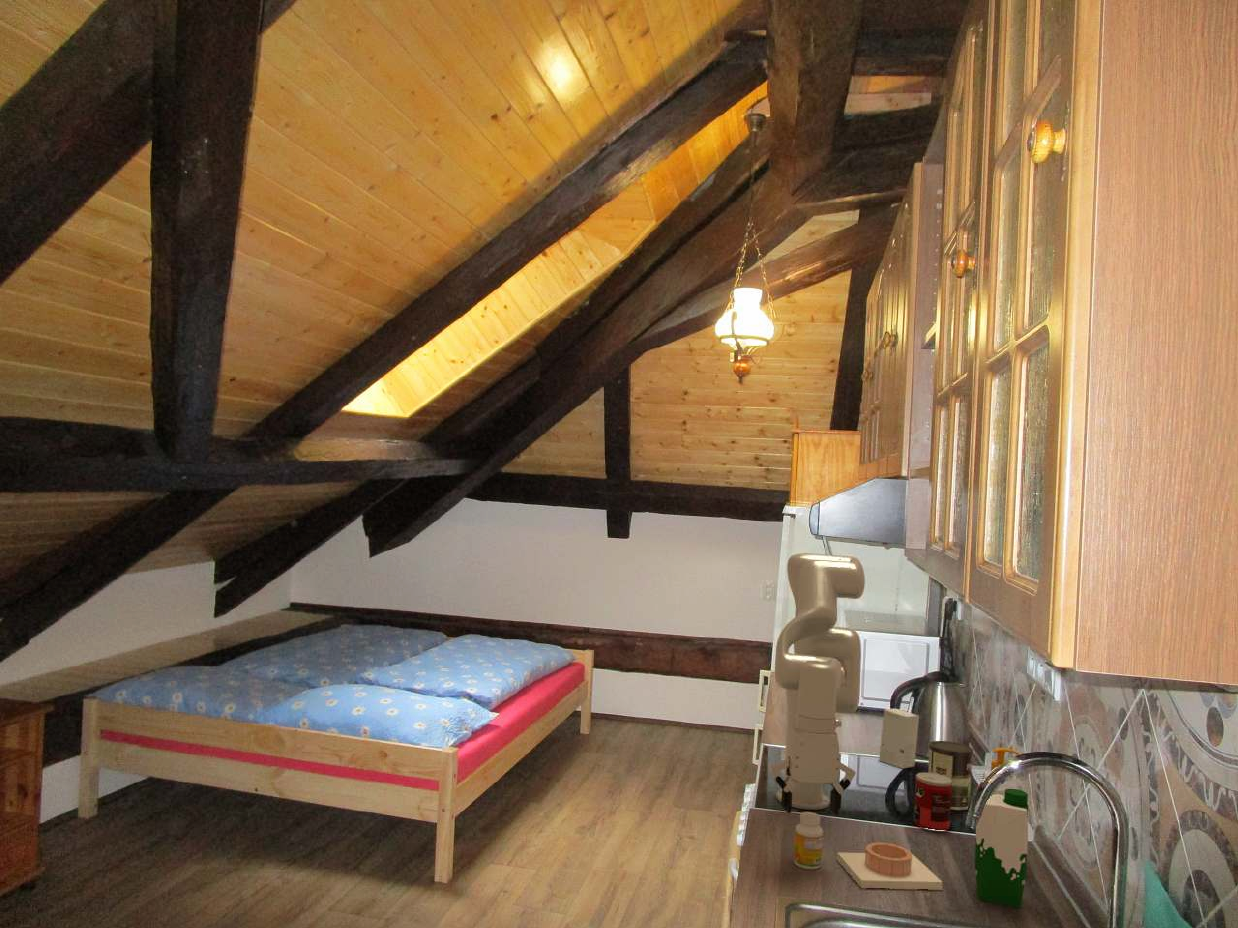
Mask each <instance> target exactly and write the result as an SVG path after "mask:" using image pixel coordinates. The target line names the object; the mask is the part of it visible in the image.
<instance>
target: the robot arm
mask: <svg viewBox="0 0 1238 928" xmlns="http://www.w3.org/2000/svg"><path fill="white" fill-rule="evenodd" d="M786 567H787V569H786V570H787V571H786V572H787V579H788V583H789V587H790V591H791V592H792V595H793V599H794V604H795V617H794V618H792V619H791V620H790V621H789V622H788V623H787V624H786V625H785V626H784V628H783V629H782V630H781V632H780V634H779V636H778V637H777V641H776V647H775V659H774V660H775V661H774V678H775V681H776V684H777V685H778V686H779V687H780V688H782V689H783V690H785V697H786V698H785V699H786V714H787V716H786V736H785V755H784V756H785V757H784V760H780V761H778V762H777V763H775V764H773V765H771V766H770V767H769V770H770V772H771V774H772V775H771V776H772V777H773V780H774V781H775V782H776V783H777V784H778V785H779V787H780V788H781V789H779V790H777V792H776V797H775V798H776V799H777V800H778V802H780V804H781V807H782V808H783V809H784V811H785V812H786V814H790V813H792V808H795V809H801V810H807V811H808V810H810V811H812V810H813V811H815V810H823V809H827V808H828V807H829V810H830V812H832V813H833V814H834V815H835V816H836V815H837V816H838V815H839V810H841V807H842V795H843V794H844V793H845V790H846V789H847V788H849V787H850V786H851V784H852V783H851V782H852V781H853V779H854V778H855V776H856V775H857V774H856V773H857V772H856V771H855V770H854V769H852V768H851V767H849V766H847V765H846V764H844V763H843V762H841V755H840V742H839V737H838V733H837V732H836V728H838V727H839V728H841V727H842V719H837V717H836V714H844V715H845V714H849V715H850V714H853V713H855V712H856V711H857V709H858V707H859V704H860V693H861V692H860V691H861V688H860V687H861V663H862V662H861V661H862V648H861V647H862V644H861V639H860V636H859V634H858V632H857V631H856V630H855V629H854V628H853V629H852V628H849V627H841V626H835V625H836V624H837V621H838V598H839V599H848V600H849V599H850V600H857V599H860V598H861V597H862V596H863V595H864V590H865V583H866V581H865V580H866V577H865V572H864V568H863V566H862V563H861V562H860V560H859V559H858V558H857V557H855V556H848V555H838V554H837V555H836V554H835V555H834V554H825V553H814V552H813V553H811V552H810V553H809V552H808V553H807V552H805V553H804V552H803V553H796V554H793V555H791V556H790V557H789V558H788V561H787V566H786ZM791 646H793V650H794V651H793V653H790V652H789V651H790V648H791ZM783 770H784V772H783V778H782V777H781V775H780V773H781V772H782V771H783ZM841 771H842V772H844V773H845V774H844V777H843V778H842V779H840V774H841ZM824 785H830V786H831V787H832V789H831V790H830V796H829V797H830V798H829V797H828V796H827V795H825V794H824Z"/></svg>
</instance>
